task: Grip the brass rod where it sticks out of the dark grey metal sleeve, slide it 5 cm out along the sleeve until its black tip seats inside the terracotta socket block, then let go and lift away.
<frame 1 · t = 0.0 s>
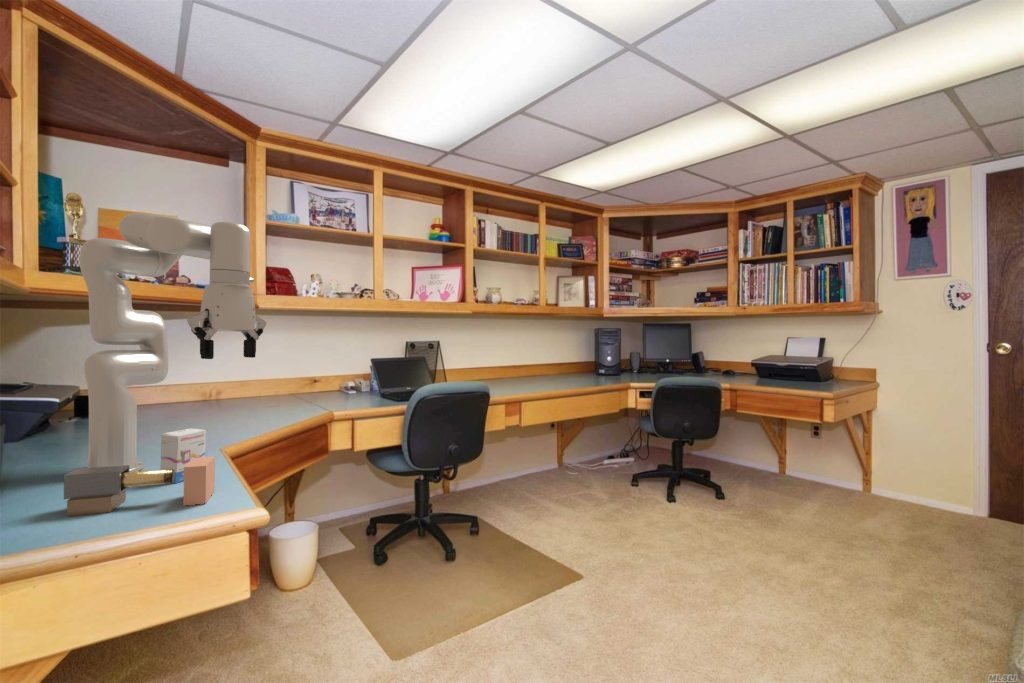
hand: (229, 358, 102), 31 cm above the table, tool pointing down, fingers open, 9 cm apart
socket: (199, 480, 103), on the table
ink box: (183, 478, 117), on the table
tube: (127, 479, 98), point 6 cm above the table, slide at 0.0 cm
sleeve: (124, 505, 98), on the table
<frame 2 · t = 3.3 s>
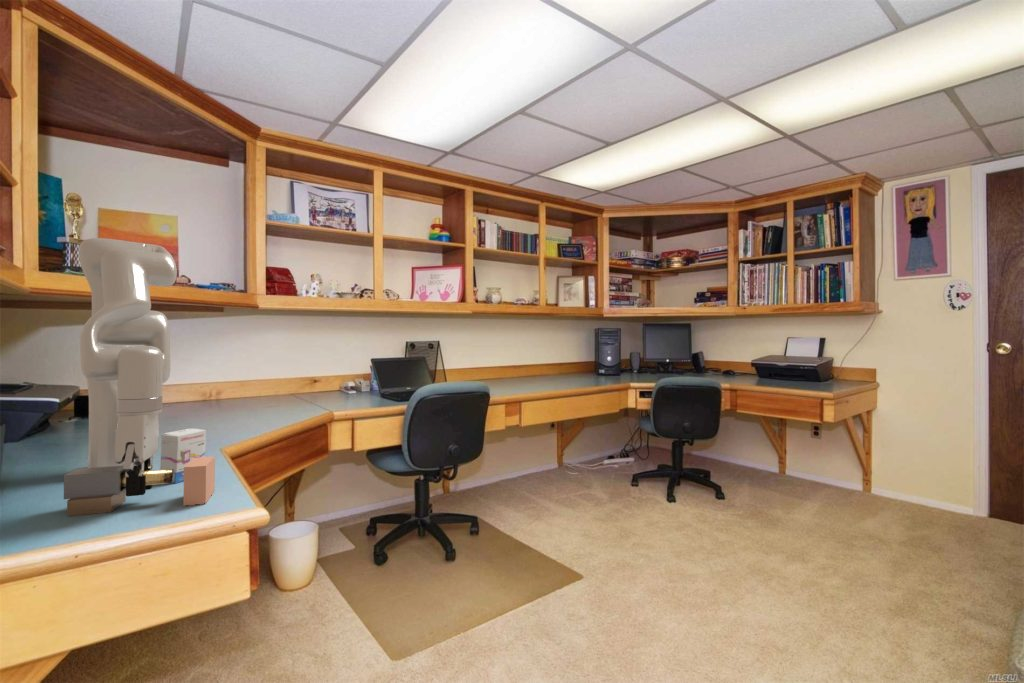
hand: (139, 491, 99), 3 cm above the table, tool pointing down, fingers closed on tube, 3 cm apart
tube: (127, 479, 98), point 6 cm above the table, slide at 0.0 cm, touching gripper
everything else where it was.
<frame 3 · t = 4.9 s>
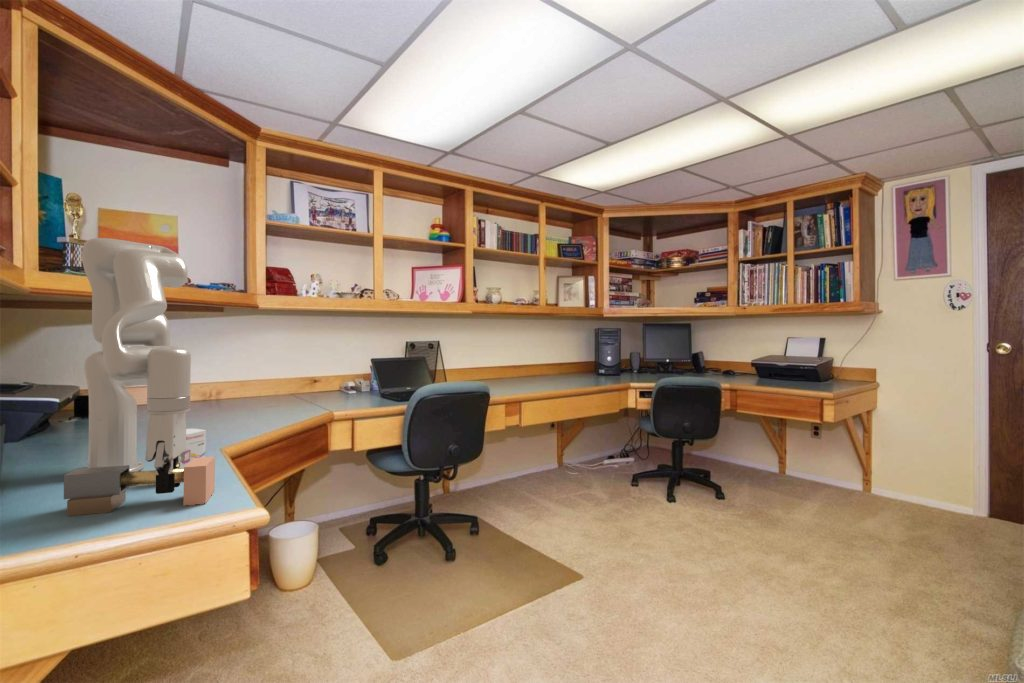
hand: (168, 489, 101), 3 cm above the table, tool pointing down, fingers closed on tube, 3 cm apart
tube: (156, 477, 100), point 6 cm above the table, slide at 5.1 cm, touching gripper
everything else where it was.
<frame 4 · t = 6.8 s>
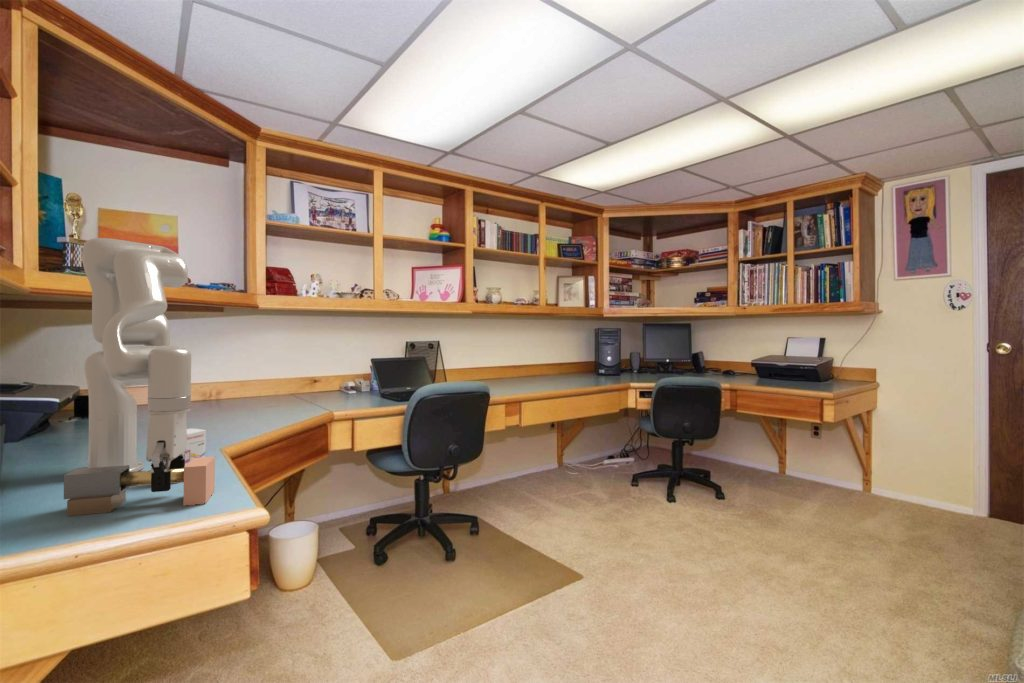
hand: (168, 483, 101), 4 cm above the table, tool pointing down, fingers open, 9 cm apart
tube: (156, 477, 100), point 6 cm above the table, slide at 5.0 cm
everything else where it was.
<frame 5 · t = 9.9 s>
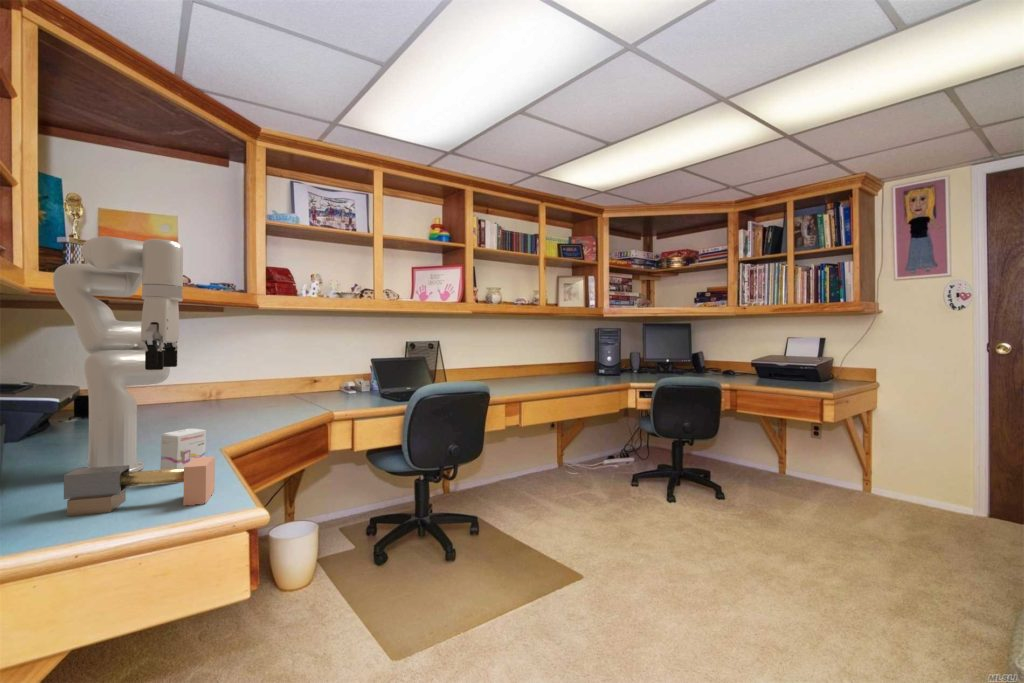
hand: (161, 368, 108), 28 cm above the table, tool pointing down, fingers open, 9 cm apart
nothing on the table moved.
at the end: tube slide at 5.0 cm; the gripper is holding nothing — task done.
